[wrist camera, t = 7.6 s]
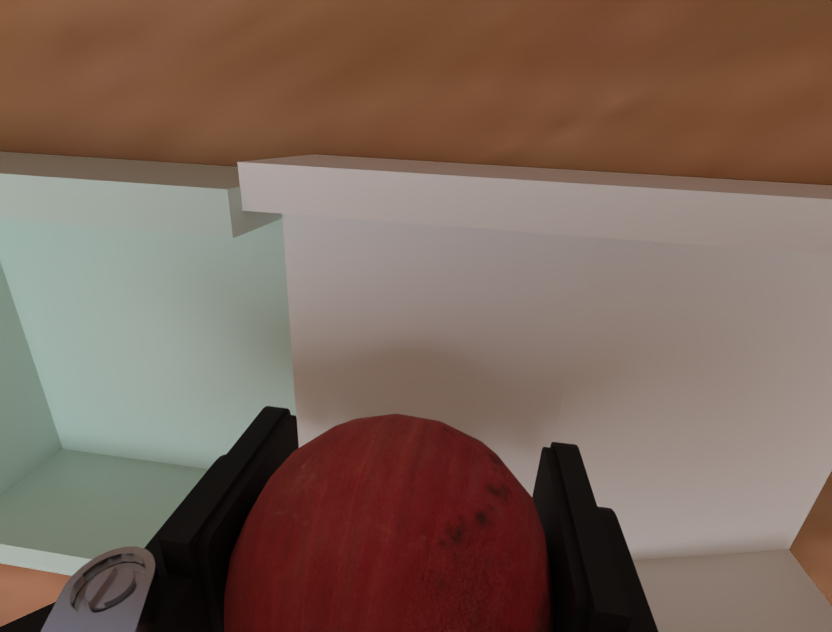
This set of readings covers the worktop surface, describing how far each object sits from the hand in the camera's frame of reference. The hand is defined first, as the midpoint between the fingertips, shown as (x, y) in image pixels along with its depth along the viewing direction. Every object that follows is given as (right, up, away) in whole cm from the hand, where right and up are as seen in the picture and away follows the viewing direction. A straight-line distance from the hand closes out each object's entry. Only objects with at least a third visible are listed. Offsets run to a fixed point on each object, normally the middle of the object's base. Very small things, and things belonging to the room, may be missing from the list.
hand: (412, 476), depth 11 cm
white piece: (+6, +2, +5) cm, 8 cm away
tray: (-10, +3, +6) cm, 12 cm away
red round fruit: (0, +1, +1) cm, 1 cm away
